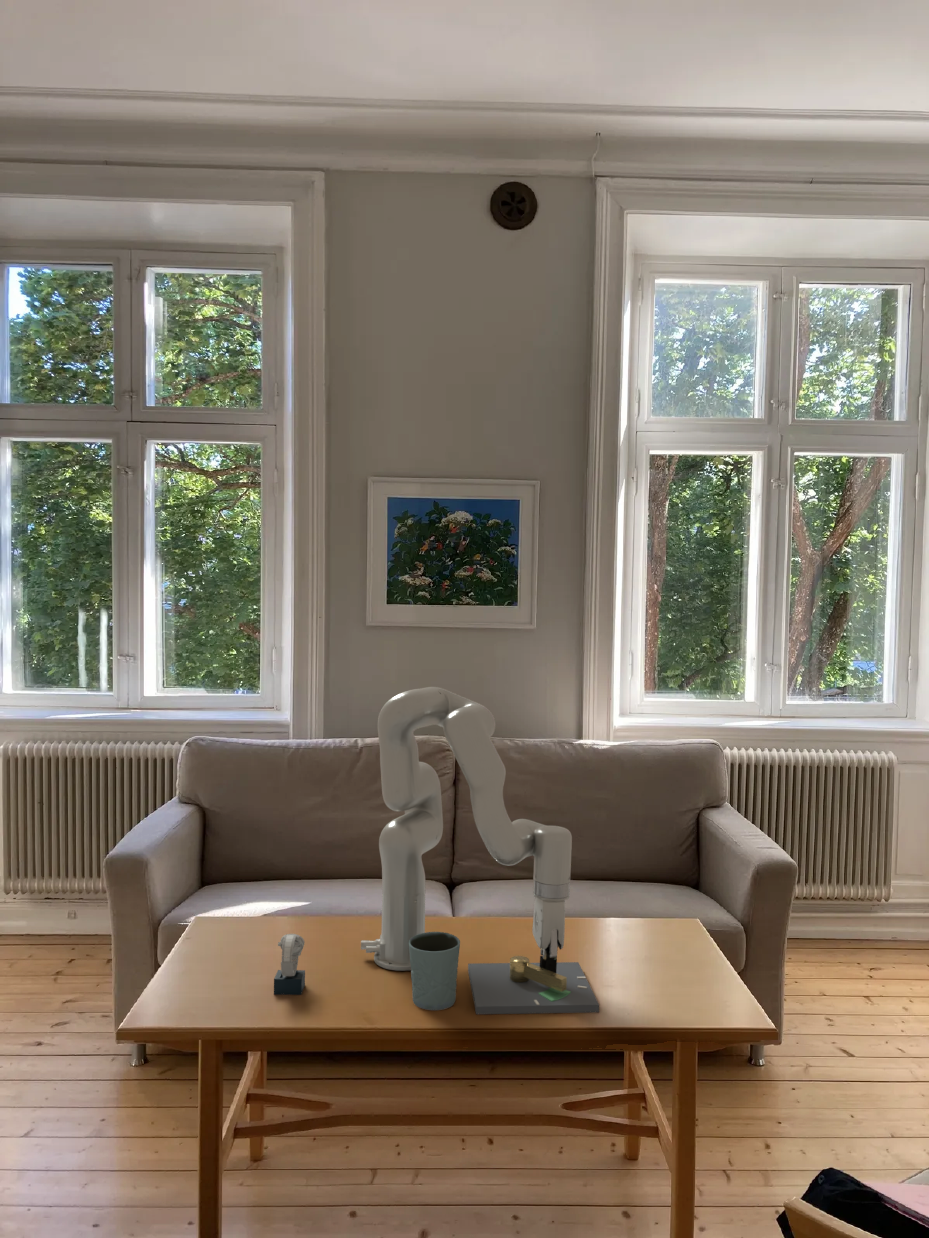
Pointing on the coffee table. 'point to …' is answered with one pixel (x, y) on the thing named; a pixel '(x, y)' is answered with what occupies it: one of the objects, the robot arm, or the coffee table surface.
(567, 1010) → the dial plate
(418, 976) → the teal cup
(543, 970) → the needle
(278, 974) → the grey and black figurine
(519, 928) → the coffee table surface
